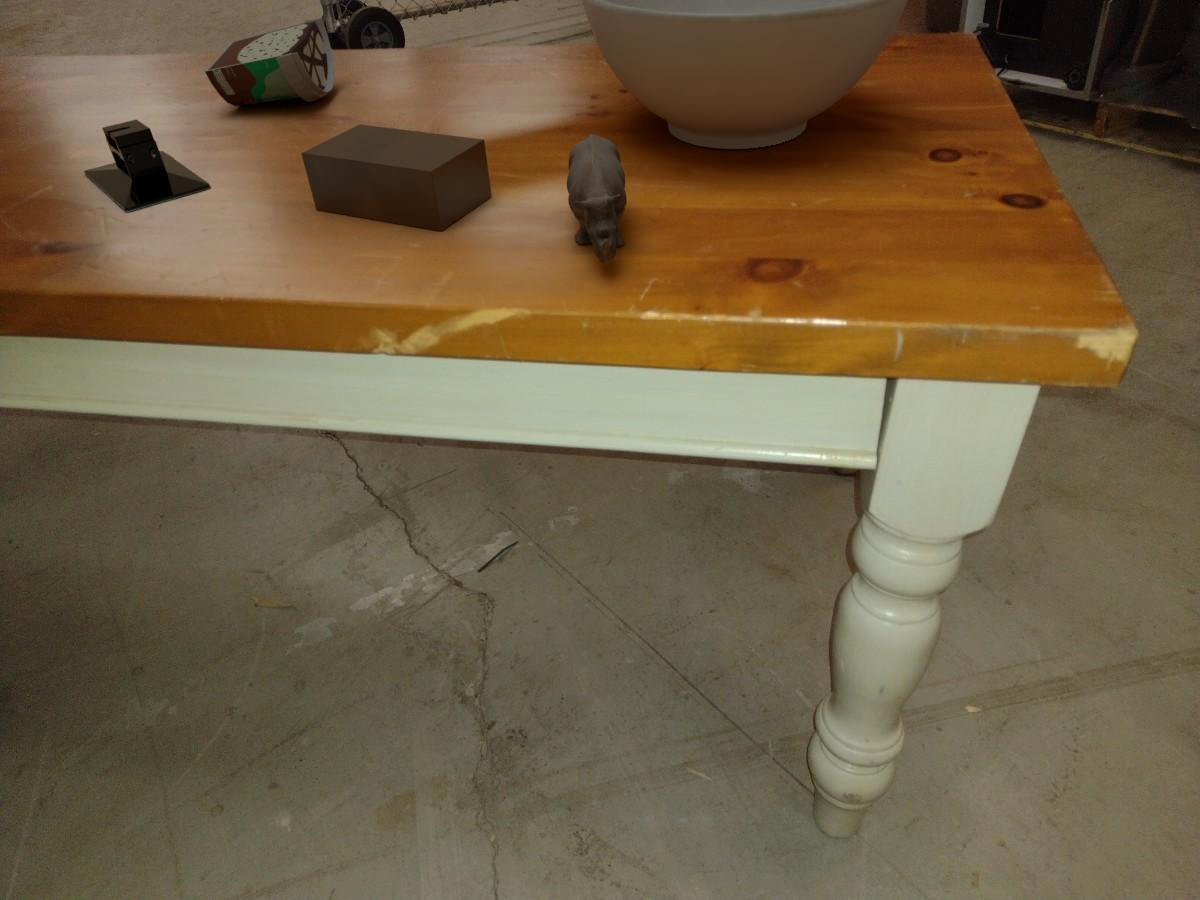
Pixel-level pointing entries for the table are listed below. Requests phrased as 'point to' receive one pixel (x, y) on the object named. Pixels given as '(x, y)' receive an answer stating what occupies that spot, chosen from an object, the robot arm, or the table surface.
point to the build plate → (141, 170)
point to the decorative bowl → (740, 61)
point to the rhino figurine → (597, 194)
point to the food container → (275, 66)
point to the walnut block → (399, 176)
